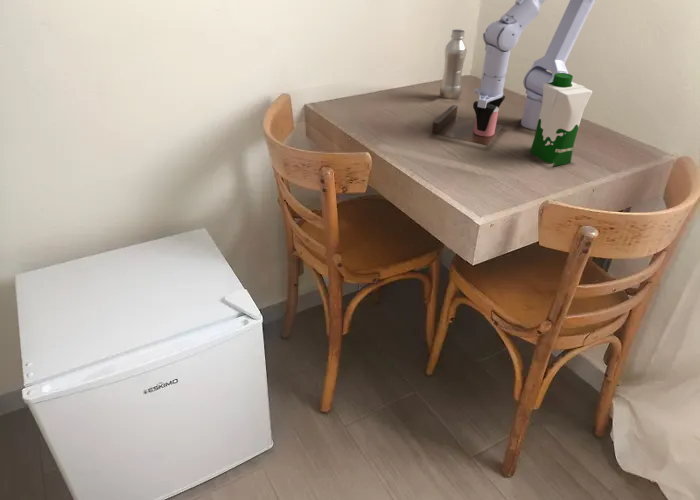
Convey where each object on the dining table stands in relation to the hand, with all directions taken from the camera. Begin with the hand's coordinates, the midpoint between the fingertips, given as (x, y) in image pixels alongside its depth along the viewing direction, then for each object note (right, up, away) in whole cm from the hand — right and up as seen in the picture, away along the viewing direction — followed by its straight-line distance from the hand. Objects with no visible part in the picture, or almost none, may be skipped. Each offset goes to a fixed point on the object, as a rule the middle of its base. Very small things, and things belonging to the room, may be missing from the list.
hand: (484, 126), depth 141 cm
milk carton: (+14, -10, -9) cm, 19 cm away
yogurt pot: (0, -1, +1) cm, 2 cm away
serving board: (-4, -1, +3) cm, 5 cm away
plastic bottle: (-5, +14, +25) cm, 29 cm away
